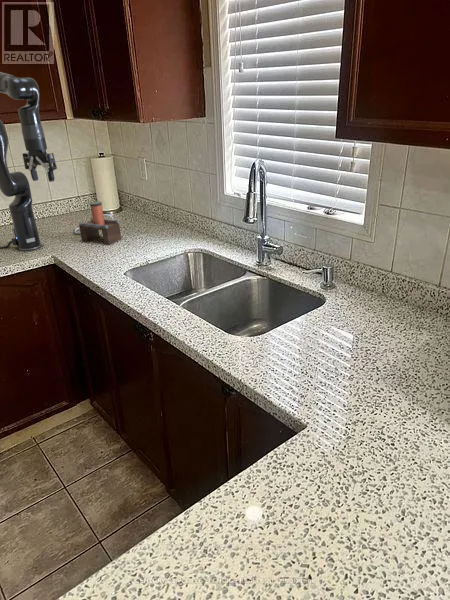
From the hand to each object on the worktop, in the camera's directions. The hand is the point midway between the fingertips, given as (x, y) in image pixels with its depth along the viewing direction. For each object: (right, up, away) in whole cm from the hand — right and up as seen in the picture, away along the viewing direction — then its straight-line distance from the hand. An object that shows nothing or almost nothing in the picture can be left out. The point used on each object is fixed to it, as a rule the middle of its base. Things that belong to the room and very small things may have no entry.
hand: (43, 180), depth 174 cm
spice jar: (+13, -12, +31) cm, 35 cm away
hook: (+6, -11, +50) cm, 51 cm away
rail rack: (+13, -18, +34) cm, 41 cm away
